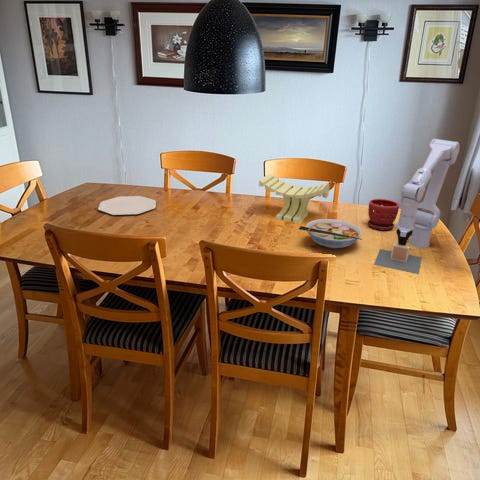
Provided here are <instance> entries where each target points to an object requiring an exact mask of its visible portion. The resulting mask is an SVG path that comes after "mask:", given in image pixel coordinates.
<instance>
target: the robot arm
mask: <svg viewBox="0 0 480 480" xmlns="http://www.w3.org/2000/svg"><path fill="white" fill-rule="evenodd" d="M459 152H460V143H459V142H458V141H452V140H447V139H440V138H433V139H431V140H430V142H429V145H428V156H427V158H426V160H425V162H424V163H423V165H422V167H419V168H418V169H416V172H414V174H413V175H412V178H411V179H410V181H409V182H408V183H405V184H404V185H403V186H402V189H401V191H400V196H401V197H400V198H401V199H400V202H401V207H400V212H399V218H398V221H397V222H395V223H394V227H397V229H396V235H397V241H398V242H397V244H398V245H404V246H407V243H409V244H410V245H411V246H412V247H415V248H420V249H426V248H428V247H430V239H431V235H432V232H433V231H432V230H434V229H435V228H436V227H437V226H438V224H439V222H440V217H441V210H440V209H439V207H438V206H437V205H436V204H437V201H438V199H439V195H440V193H441V189H442V187H443V184H444V181H445V179H446V176H447V173H448V170H449V168H450V166H451V165H453V164H455V163H456V161H457V158H458V154H459ZM432 172H433V173H432ZM427 185H428V186H427ZM426 186H427V189H426ZM425 191H426V192H425ZM424 194H425V195H424ZM423 196H424V198H423ZM422 199H423V201H421V200H422ZM420 201H421V202H420Z"/></svg>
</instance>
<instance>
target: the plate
mask: <svg viewBox="0 0 480 480" xmlns="http://www.w3.org/2000/svg"><path fill="white" fill-rule="evenodd" d="M156 205H157V200H155V199H152V198H148V197H146V196H145V197H144V196H142V195H132V196H131V195H127V196H121V195H120V196H117V197H113V198H109V199H106V200H103V201H100V203H99V205H98V207H97V210H98V211H100V212H102V213H104V214H109V215H111V216H135V215H140V214H144V213H147V212H149V211H152V210H154V209H156Z"/></svg>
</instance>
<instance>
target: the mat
mask: <svg viewBox="0 0 480 480" xmlns="http://www.w3.org/2000/svg"><path fill="white" fill-rule="evenodd" d="M391 253H392V250H387V249H382V248H380V249H379V250H378V253H377V255H376V258H375V260H374V263H373V266H378V267H381V268H382V267H383V268H386V269H387V268H388V269H391V270H396V271H401V272H405V273H411V274H415V275H420V270H421V269H420V268H421V264H422V259H423V257H422V256H419V255H418V256H417V255H414V254H413V255H412V254H408V258H407V262H403V261H398V260H393V259H390V258H391Z"/></svg>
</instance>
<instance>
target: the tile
mask: <svg viewBox="0 0 480 480" xmlns="http://www.w3.org/2000/svg"><path fill="white" fill-rule="evenodd" d="M410 247H411V246H407V245H405V246H404V245H398V243H393V244H392V248H391V251H392V253H391V258H390V259H393V260H398V261H403V262H407V258H408V255H409V253H410Z"/></svg>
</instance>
